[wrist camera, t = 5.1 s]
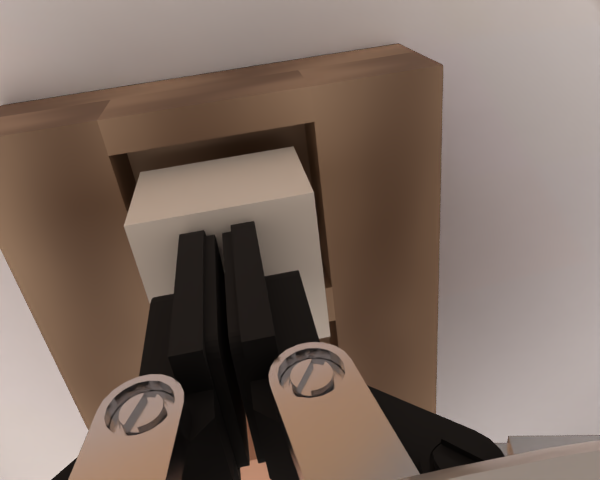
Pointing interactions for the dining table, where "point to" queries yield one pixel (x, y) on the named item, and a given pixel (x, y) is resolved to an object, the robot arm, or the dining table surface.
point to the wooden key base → (221, 144)
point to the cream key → (230, 218)
